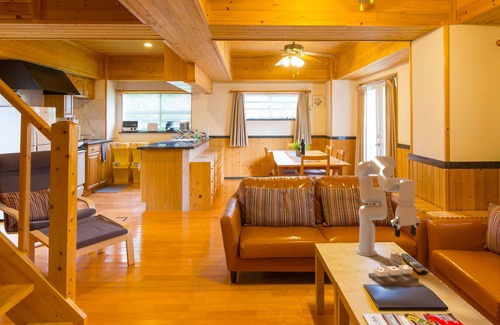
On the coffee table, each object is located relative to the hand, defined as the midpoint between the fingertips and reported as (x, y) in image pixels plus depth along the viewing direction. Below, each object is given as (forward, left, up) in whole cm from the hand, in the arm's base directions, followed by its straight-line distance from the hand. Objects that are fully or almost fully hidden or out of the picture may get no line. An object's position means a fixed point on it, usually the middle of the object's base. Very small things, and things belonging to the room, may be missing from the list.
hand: (405, 235), depth 176 cm
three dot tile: (-3, -11, -21) cm, 24 cm away
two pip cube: (-3, +4, -21) cm, 21 cm away
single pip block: (-3, -4, -21) cm, 21 cm away
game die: (-18, +9, -25) cm, 32 cm away
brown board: (-3, -4, -25) cm, 25 cm away
